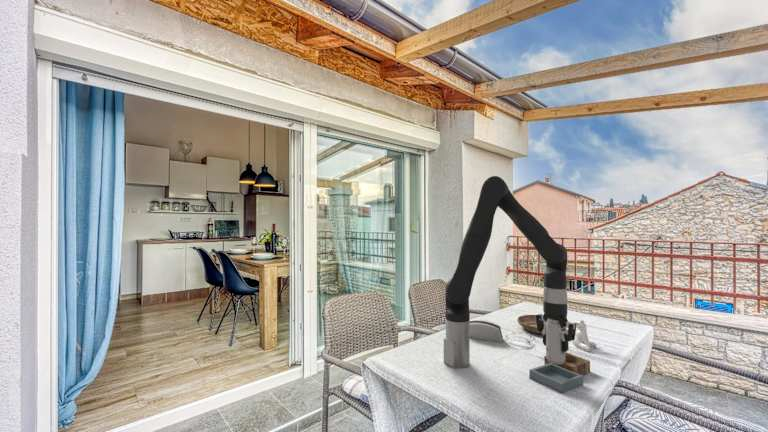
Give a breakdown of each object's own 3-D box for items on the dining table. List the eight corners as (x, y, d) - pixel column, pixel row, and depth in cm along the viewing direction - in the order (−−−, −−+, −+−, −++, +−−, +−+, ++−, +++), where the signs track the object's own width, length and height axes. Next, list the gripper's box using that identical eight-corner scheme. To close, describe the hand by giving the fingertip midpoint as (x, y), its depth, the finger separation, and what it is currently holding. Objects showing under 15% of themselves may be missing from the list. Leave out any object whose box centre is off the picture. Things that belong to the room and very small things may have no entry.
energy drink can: (548, 356, 121) (548, 315, 121) (566, 361, 117) (566, 318, 117) (544, 361, 116) (543, 318, 116) (563, 366, 112) (563, 322, 112)
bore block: (572, 378, 118) (572, 367, 118) (543, 366, 128) (543, 355, 128) (591, 371, 124) (591, 361, 124) (561, 360, 134) (561, 350, 134)
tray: (561, 393, 108) (561, 384, 108) (529, 378, 118) (529, 369, 118) (582, 384, 114) (582, 375, 114) (550, 370, 124) (550, 362, 124)
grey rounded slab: (503, 339, 158) (502, 321, 155) (502, 345, 154) (500, 327, 151) (468, 333, 166) (467, 316, 164) (466, 339, 162) (464, 321, 160)
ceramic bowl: (507, 326, 177) (507, 317, 177) (538, 321, 187) (538, 312, 187) (544, 341, 156) (544, 330, 156) (577, 334, 166) (577, 324, 166)
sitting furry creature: (589, 352, 142) (589, 324, 142) (568, 347, 149) (568, 320, 149) (597, 347, 148) (597, 320, 148) (576, 342, 155) (576, 316, 155)
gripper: (530, 297, 121) (530, 343, 121) (568, 306, 109) (568, 357, 108) (543, 295, 125) (543, 340, 125) (581, 303, 112) (582, 353, 112)
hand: (555, 348), depth 116 cm, fingers closed on energy drink can, 6 cm apart
